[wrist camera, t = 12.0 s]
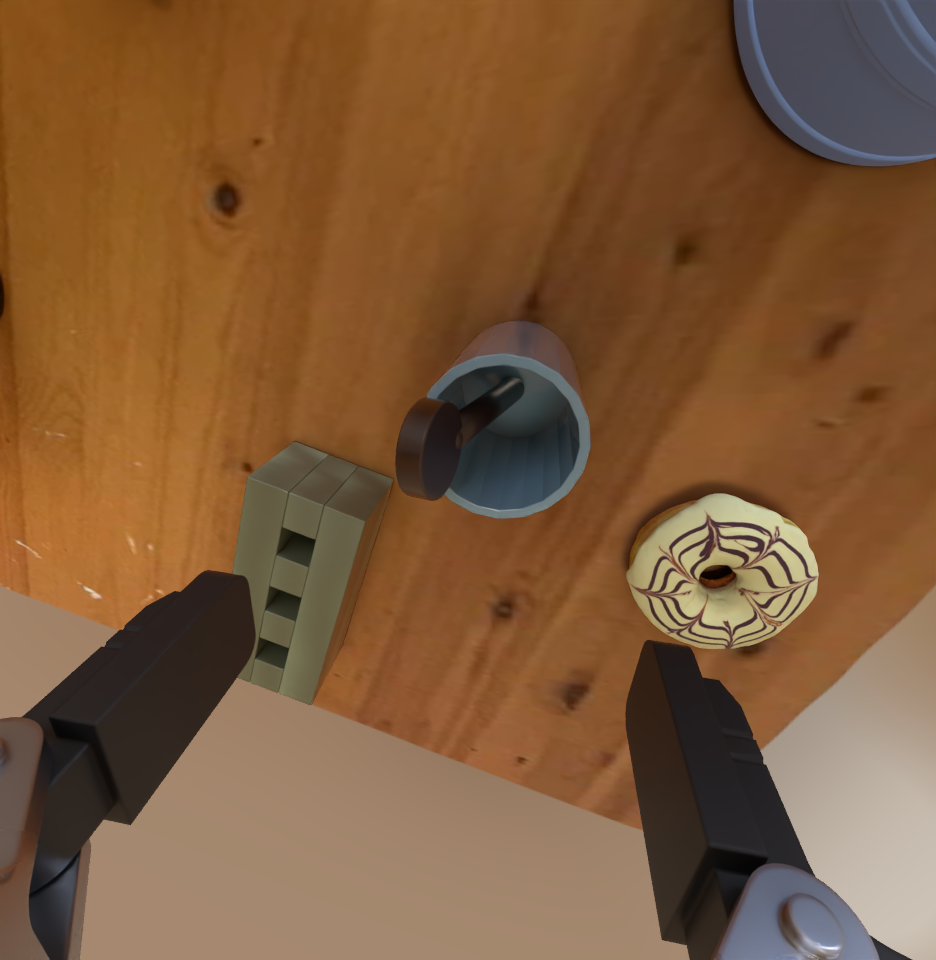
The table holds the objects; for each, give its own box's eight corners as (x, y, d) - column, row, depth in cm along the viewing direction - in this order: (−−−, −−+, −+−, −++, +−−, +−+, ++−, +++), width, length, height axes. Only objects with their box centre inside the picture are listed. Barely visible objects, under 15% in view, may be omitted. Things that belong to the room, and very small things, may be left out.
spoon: (524, 420, 30) (424, 519, 19) (502, 417, 31) (392, 511, 19) (530, 354, 28) (424, 417, 17) (507, 351, 29) (389, 411, 17)
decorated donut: (697, 455, 30) (716, 480, 27) (834, 541, 31) (869, 576, 28) (595, 569, 35) (600, 604, 31) (717, 642, 36) (735, 683, 32)
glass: (449, 426, 32) (407, 499, 23) (467, 309, 29) (427, 338, 19) (560, 449, 32) (565, 533, 22) (591, 333, 28) (612, 374, 19)
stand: (259, 616, 42) (216, 670, 36) (294, 440, 34) (246, 476, 29) (341, 647, 42) (311, 706, 36) (394, 479, 34) (365, 521, 29)
